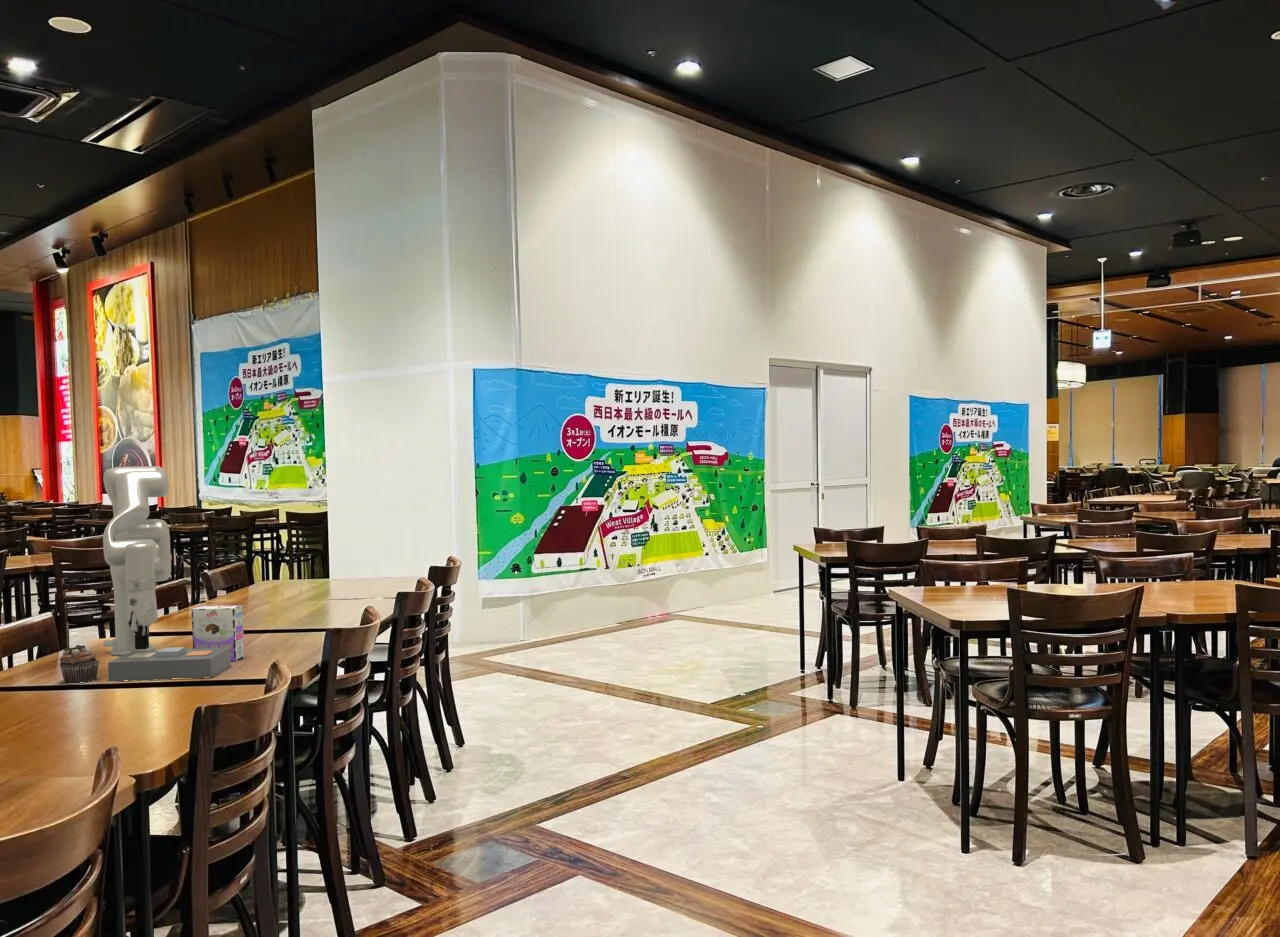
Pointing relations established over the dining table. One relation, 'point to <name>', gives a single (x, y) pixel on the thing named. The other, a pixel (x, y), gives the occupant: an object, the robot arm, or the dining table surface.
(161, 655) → the slate key
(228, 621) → the candy box
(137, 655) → the cream key
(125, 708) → the dining table surface
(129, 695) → the dining table surface
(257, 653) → the dining table surface
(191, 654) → the terracotta key
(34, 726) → the dining table surface
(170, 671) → the keypad
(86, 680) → the cupcake
